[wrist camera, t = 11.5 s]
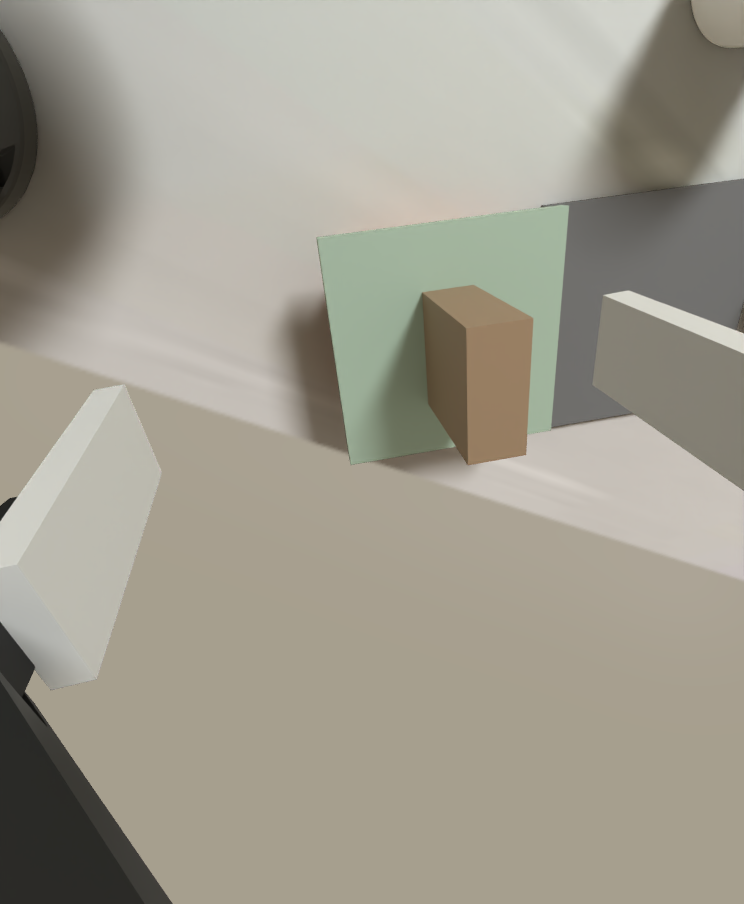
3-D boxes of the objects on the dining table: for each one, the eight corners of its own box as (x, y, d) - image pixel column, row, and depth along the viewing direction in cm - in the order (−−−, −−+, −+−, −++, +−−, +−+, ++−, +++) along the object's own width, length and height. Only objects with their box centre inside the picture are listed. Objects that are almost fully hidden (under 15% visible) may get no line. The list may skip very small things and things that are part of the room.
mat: (541, 205, 38) (545, 205, 37) (770, 175, 40) (776, 175, 39) (529, 427, 47) (531, 430, 47) (714, 395, 49) (718, 398, 48)
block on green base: (316, 237, 31) (330, 260, 22) (561, 204, 32) (663, 214, 24) (349, 458, 39) (369, 538, 30) (545, 424, 40) (617, 492, 32)
